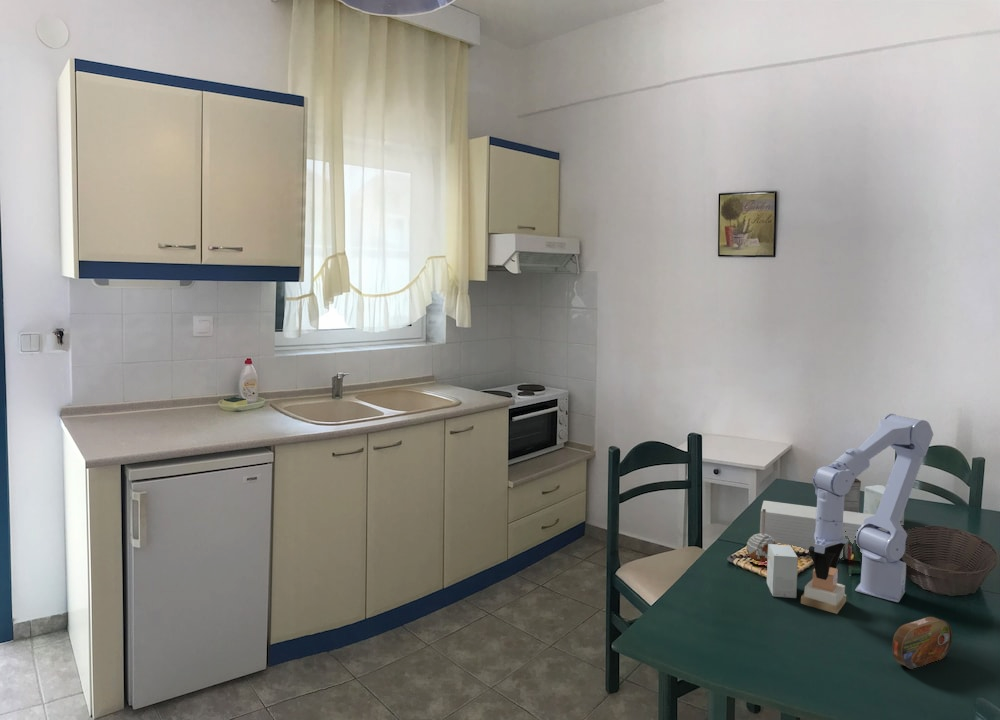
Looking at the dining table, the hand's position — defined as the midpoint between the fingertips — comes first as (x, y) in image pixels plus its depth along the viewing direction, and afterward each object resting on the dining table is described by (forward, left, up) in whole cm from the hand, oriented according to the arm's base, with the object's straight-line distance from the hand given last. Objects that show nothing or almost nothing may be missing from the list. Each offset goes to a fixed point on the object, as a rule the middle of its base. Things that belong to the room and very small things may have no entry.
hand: (826, 573), depth 162 cm
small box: (+10, 0, -8) cm, 13 cm away
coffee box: (+11, -58, -8) cm, 60 cm away
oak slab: (0, 0, -8) cm, 8 cm away
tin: (-22, +14, -8) cm, 27 cm away
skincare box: (+2, -71, -8) cm, 71 cm away
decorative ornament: (+20, -14, -8) cm, 26 cm away
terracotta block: (0, 0, -3) cm, 3 cm away
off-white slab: (0, 0, -6) cm, 6 cm away
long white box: (+11, -34, -8) cm, 37 cm away
